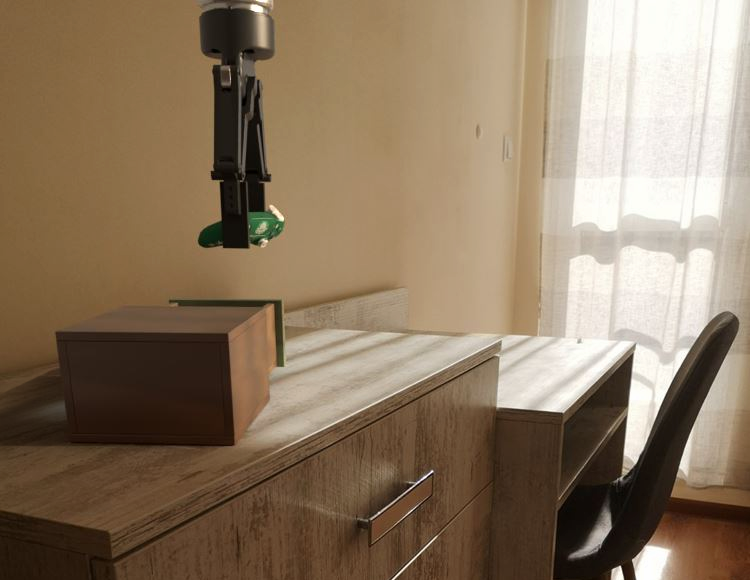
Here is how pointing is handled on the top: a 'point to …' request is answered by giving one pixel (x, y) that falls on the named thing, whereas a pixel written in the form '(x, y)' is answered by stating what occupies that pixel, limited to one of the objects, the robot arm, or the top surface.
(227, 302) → the drawer
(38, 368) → the top surface
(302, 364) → the top surface
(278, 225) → the green rounded piece
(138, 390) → the cabinet
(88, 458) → the top surface
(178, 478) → the top surface
